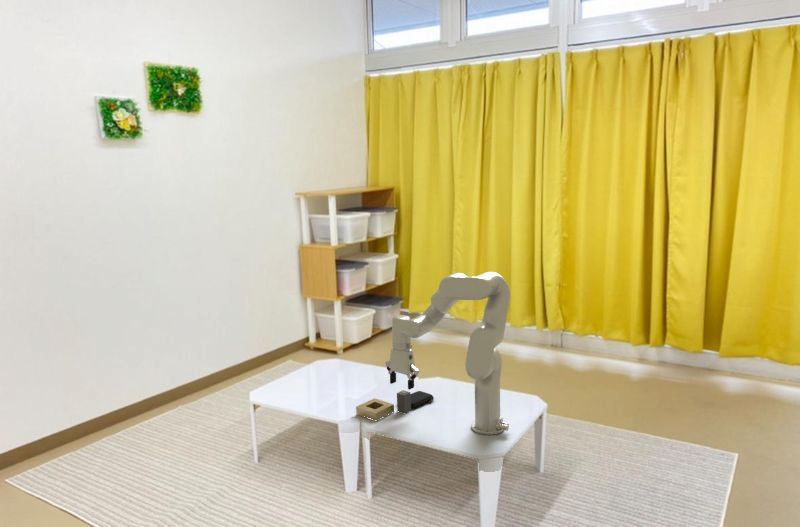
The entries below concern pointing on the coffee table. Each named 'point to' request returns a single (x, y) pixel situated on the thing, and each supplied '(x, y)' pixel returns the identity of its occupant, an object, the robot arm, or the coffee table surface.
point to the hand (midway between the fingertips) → (401, 385)
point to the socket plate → (374, 409)
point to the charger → (403, 401)
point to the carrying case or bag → (420, 399)
